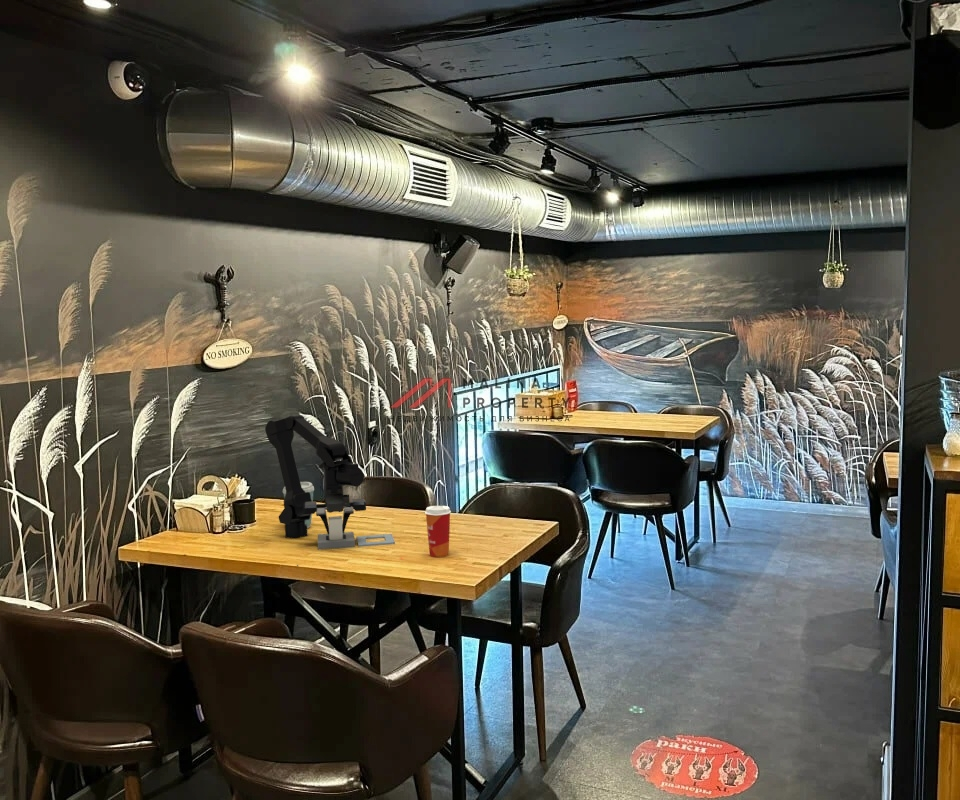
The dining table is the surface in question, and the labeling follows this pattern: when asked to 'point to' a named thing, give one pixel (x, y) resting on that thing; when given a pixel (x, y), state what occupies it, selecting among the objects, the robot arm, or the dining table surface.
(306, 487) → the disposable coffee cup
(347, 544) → the raised dock
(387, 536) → the low dock
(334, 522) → the plug
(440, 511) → the paper cup
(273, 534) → the dining table surface
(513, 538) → the dining table surface
